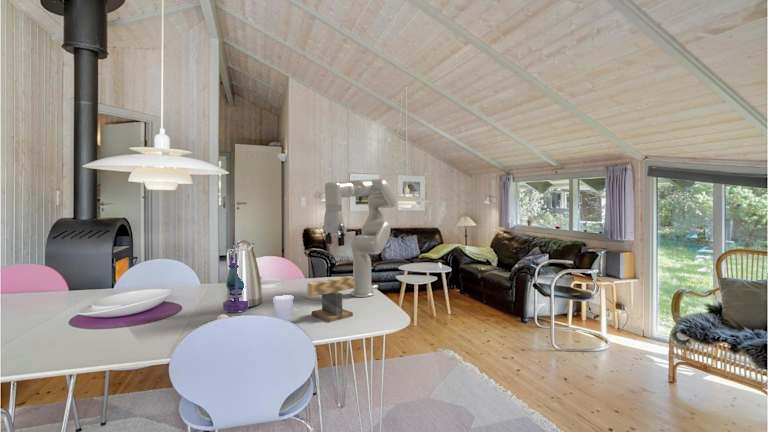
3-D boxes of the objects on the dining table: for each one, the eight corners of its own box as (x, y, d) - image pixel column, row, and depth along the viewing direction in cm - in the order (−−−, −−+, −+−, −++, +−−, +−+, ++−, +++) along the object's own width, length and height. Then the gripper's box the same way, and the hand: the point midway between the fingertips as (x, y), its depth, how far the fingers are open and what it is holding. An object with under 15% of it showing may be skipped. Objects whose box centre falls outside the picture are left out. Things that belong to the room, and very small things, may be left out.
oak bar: (349, 286, 175) (349, 276, 174) (354, 288, 172) (354, 277, 172) (307, 295, 160) (307, 283, 160) (312, 296, 157) (312, 284, 157)
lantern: (223, 307, 179) (221, 244, 178) (249, 305, 183) (248, 243, 182) (223, 315, 167) (221, 247, 165) (251, 312, 171) (249, 246, 170)
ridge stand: (334, 309, 176) (333, 286, 175) (352, 315, 165) (352, 292, 165) (311, 314, 167) (311, 291, 167) (329, 322, 157) (329, 296, 157)
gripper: (316, 208, 183) (317, 244, 184) (338, 209, 171) (339, 247, 172) (329, 207, 188) (330, 242, 189) (351, 208, 176) (352, 245, 177)
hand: (334, 244), depth 181 cm, fingers open, 9 cm apart
